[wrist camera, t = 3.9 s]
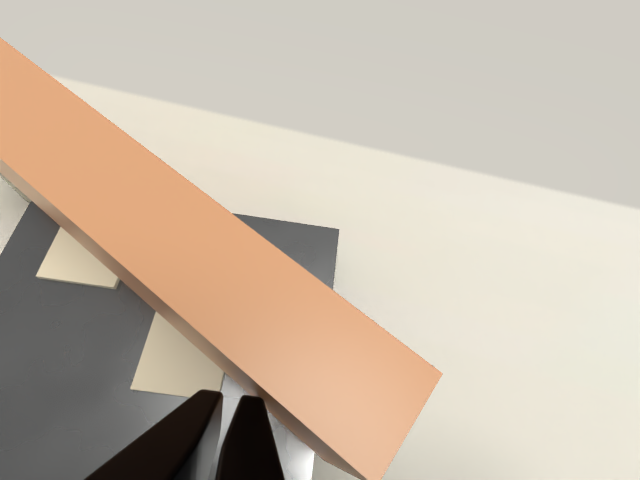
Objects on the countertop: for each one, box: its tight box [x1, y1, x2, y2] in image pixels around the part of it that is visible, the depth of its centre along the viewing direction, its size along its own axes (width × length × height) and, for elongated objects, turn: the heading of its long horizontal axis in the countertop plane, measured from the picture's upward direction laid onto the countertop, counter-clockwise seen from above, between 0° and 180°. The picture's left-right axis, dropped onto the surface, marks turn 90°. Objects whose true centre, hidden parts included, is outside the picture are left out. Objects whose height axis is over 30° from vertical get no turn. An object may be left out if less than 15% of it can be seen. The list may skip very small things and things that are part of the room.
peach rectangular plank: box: [0, 38, 443, 480], centre depth 9 cm, size 2×14×6 cm, turn 52°
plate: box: [0, 173, 339, 480], centre depth 10 cm, size 14×14×10 cm
